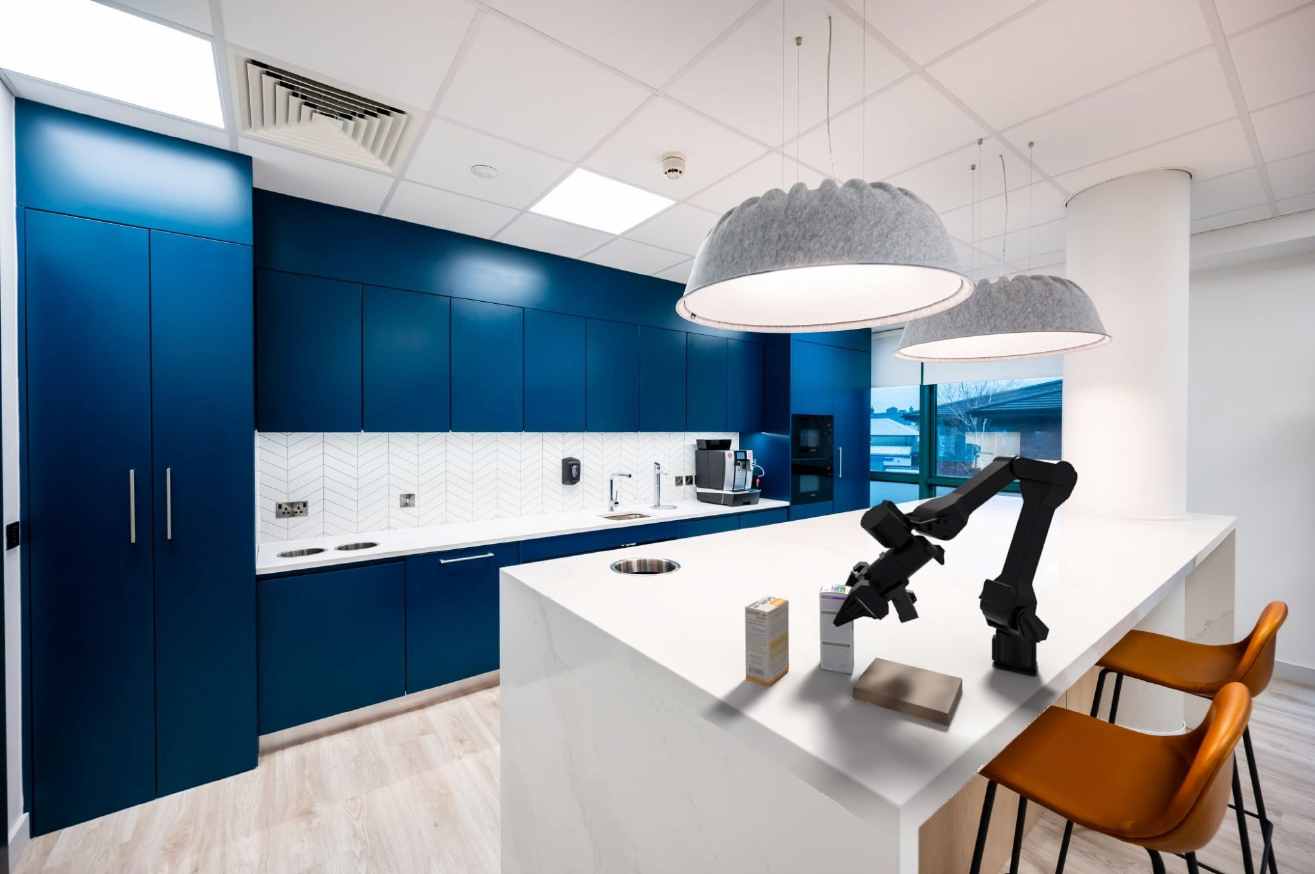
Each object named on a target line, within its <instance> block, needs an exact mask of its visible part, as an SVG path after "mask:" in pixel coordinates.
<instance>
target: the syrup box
mask: <svg viewBox="0 0 1315 874" xmlns="http://www.w3.org/2000/svg"><path fill="white" fill-rule="evenodd" d="M851 588H852V587H850V586H845V584H844V585H843V584H835V583H833V584H830V583H829V584H826V583H823V584H822V585H821V588H820V589H819V593H818V594H819V596H818V597H819V642H820V643H819V648H820V649H819V650H820V651H819V652H820V669H821V670H824V671H829V672H836V673H840V674H841V673H842V674H850V675H853V672H854V669H855V667H854V666H855V632H854V631H855V628H854V627H855V623H854V621H855V620H853V621H851V622H848V623H846V624H844V625H841V626H839V627H836V626H835V625H834V624H833V620H834V619H835V617H836V615H837V613H838V611H839V609H840V607H841V606H842V604H843V602H844V600H845V598H846V596H847V594H848V593H849V591H850V589H851ZM852 589H853V588H852Z"/></svg>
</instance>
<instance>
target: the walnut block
mask: <svg viewBox="0 0 1315 874" xmlns="http://www.w3.org/2000/svg"><path fill="white" fill-rule="evenodd" d="M962 692H963V678H961V677H957V676H953V675H950V674H946V673H940V672H937V671H933V670H930V669H924V668H923V667H922V668H921V667H918V666H917V667H916V666H913V665H909V664H904V663H900V662H897V661H893V660H888V659H884V658H880V657H874V659H873V660H872V661H871V663H870V664H869V665H868V666H867V667H866V669H864V671H863V673H862V674H861V675H860V676H859V677H858V679H857V680H855V682H854V683H853V684H852V686H851V699H852V700H856V701H859V702H864V703H867V704H870V705H873V706H877V707H880V708H884V709H886V710H890V711H893V712H897V713H899V714H900V713H901V714H905V715H907V716H910V717H914V718H918V719H921V720H924V721H928V722H932V723H935V724H939V725H941V724H942V725H941V726H945V727H949V725H948V724H950V722H951V720H952V717H953V714H954V712H955V709H956V707H957V705H958V702H959V700H960V697H961V695H962Z"/></svg>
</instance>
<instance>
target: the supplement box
mask: <svg viewBox="0 0 1315 874" xmlns="http://www.w3.org/2000/svg"><path fill="white" fill-rule="evenodd" d="M789 602H790V601H789V599H786V598H781V597H776V596H772V595H765V596H763V597H761V598H758V599H757V600H756V601H753V602H752V603H749V604H747V605H746V606H744V620H745V621H744V623H745V625H744V626H745V627H744V628H745V630H744V631H745V635H744V636H745V642H744V643H745V645H744V646H745V679H746V680H748V681H751V682H755V683H757V684H761V685H763V686H766V687H769V686H771V685H772V684H773V683H775V682H776V681H777V680H778V679H779V678H781V677H782V676H783V675H785V674H786V673H787V672H788V671H789V670H790V654H789V653H790V651H789V650H790V648H789V647H790V643H789V642H790V641H789V640H790V639H789V637H790V636H789V635H790V634H789V633H790V631H789V630H790V629H789V628H790V627H789V625H790V623H789V616H790V615H789V609H790V608H789V605H790V603H789Z"/></svg>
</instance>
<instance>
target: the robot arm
mask: <svg viewBox="0 0 1315 874" xmlns="http://www.w3.org/2000/svg"><path fill="white" fill-rule="evenodd" d="M1078 477H1079V474H1078V472H1077V471H1076V469H1075V467H1074V466H1073V464H1072V463H1071V462H1069V461H1066V460H1058V459H1057V460H1055V459H1037V458H1028V457H1025V456H1022V455H1020V454H1019V455H1018V454H1015V455H1014V454H1000V455H997V456H995V457H994V458H993V459H992V462H990V463H989V464H988V465H986V466H985V467H983V468H981V470H979V471H978V472H976V473H975V474H974V475H973V476H971V477H970V478H969V479H967V480H966V481H965V482H963V483H962V484H960V485H959V486H957V487H956V488H954V490H952V491H951V492H949V493H947V494H946V495H942V496H939V497H935V498H931V499H929V500H927V501H925V502H924V503H921V504H920V505H918V506H916V507H915V508H914V509H913V511H909V512H905V513H904V512H902V510H900V509H899V507H898V506H897V504H895V502H893V501H892V500H889V499H883V500H882V501H881V503H878V504H876V505H874V506H872V507H871V508H870V509H868V510H865V512H864V513H863V514H862V517H861V519H860V522H859V523H860V527H861V528H862V529H863V530H864V531H865V532H866V533H868V534H869V536H871V538H873V539H874V540H875V541H876V542H878V543H879V545H881V546H882V547H883V548H884V549H887V550H886V551H884V550H882V552H880V553H879V554H878V556H879V557H878V558H876V559H875V561H873V562H871V564H869V563H868V561H861V560H860V561H858V562H857V563H856V564H855V565H854V566H853V567H852V570H850V573H849V575H848V577H847V579H846V582H845V583H844V585H845V586H850V587H852V588H853V589H852V588H851V589H850V591H849V593H848V594H847V596H846V598H845V600H844V602H843V604H842V606H841V607H840V609H839V611H838V613H837V615H836V617H835V619H834V620H833V624H834V625H835V626H836V627H839V626H841V625H844V624H846V623H848V622H851V621H853V620H854V621H856V620H858V619H860V618H863V617H864V618H871V619H872V620H876V621H877V620H879V621H882V620H883V619H884V618H886V617H887V616H888V615H890V605H889V603H890V602H891V603H892V605H893V607H894V609H895V611H896V613H897V615H898V616H897V617H898V620H899V622H900V623H901V624H904V623H907V622H910V621H914V620H917V619H919V618H920V617H919V616H920V615H919V614H918V610H917V609H916V607H915V603H917V601H918V597H917V596H916V593H915V591H914V589H913V590H912V589H907V588H906V587H908V586H909V585H910V578H911V577H913V575H915V574H916V573H917V572H918V571H920V570H921V569H922V568H923V567H924V566H926V565H927V564H928V563H929V562H931V561H932V559H934V560H935V562H937V564H939V565H940V566H944V565H945V563H946V562H945V553H946V550H945V548H944V547H943V546H941V545H940V544H933V543H932V542H931V541H930V540H929V539H928V538H931V539H935V540H939V541H943V542H948V541H951V540H953V539H955V538H956V537H957V536H958V535H959V534H960V533H961V531H963V530H964V528H965V527H966V526H968V522H969V519H970V516H971V515H972V514H973V513H974V512H975V511H976V510H977V509H979V508H980V507H981V506H983V505H984V504H986V503H987V502H988V501H989V500H991V499H992V498H993V497H995V496H996V495H998V494H999V493H1000V492H1002V491H1003V490H1004V489H1005V488H1006V487H1008V486H1010V484H1013V482H1015V481H1016V480H1017V481H1019V482H1018V483H1019V484H1018V488H1019V492H1020V494H1021V499H1022V506H1021V509H1020V513H1019V516H1018V518H1017V520H1016V521H1017V522H1016V524H1015V528H1014V530H1013V534H1012V537H1011V540H1010V541H1011V542H1010V544H1009V547H1008V551H1007V554H1006V555H1005V561H1004V563H1003V566H1002V569H1001V573H999V575H998V576H996V577H995V578H994V579H990V578H986V579H985V580H984V581H983V586H982V591H981V593H980V594H979V596H977V597H978V600H979V601H980V603H979V609H980V610H981V612H982V615H983V616H984V618H985V621H986V624H987V626H988V627H991V628H994V629H995V634H993V635H992V637H991V660H992V661H994V663H993V667H994V668H998V669H1002V670H1007V671H1011V672H1016V673H1021V674H1025V675H1029V674H1030V676H1034V677H1036V676H1035V675H1037V676H1038V666H1039V665H1038V661H1037V660H1038V659H1037V657H1038V651H1037V650H1038V644H1040V643H1041V642H1043V641H1044V642H1045V641H1047V640H1048V636H1049V633H1050V628H1049V627H1048V626H1047V625H1046V624H1045V623H1044V622H1043V621H1042V620H1041V618H1040V617H1039V616H1038V615H1037V607H1038V599H1037V596H1036V593H1035V590H1034V586H1033V583H1034V579H1035V576H1036V573H1037V570H1038V566H1039V563H1040V560H1041V556H1042V553H1043V550H1044V546H1045V544H1046V541H1047V537H1048V534H1049V531H1050V528H1051V525H1052V521H1053V517H1054V514H1055V511H1056V510H1058V508H1059V507H1061V506H1062V505H1063V504H1064V503H1065V502H1066V501H1068V500H1069V499H1070V497H1071V496H1072V493H1073V491H1074V489H1075V486H1076V485H1077V483H1078ZM912 531H915V532H916V533H917V534H914V533H913V532H912ZM927 537H928V538H927Z"/></svg>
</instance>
